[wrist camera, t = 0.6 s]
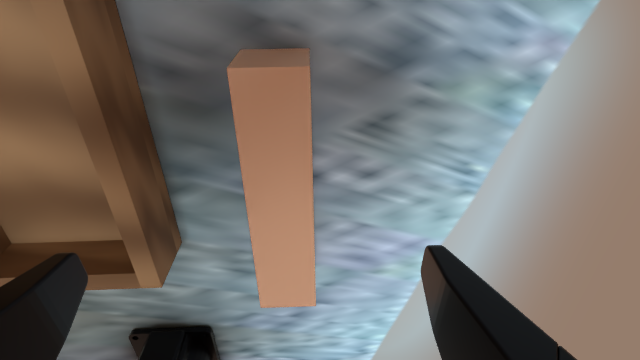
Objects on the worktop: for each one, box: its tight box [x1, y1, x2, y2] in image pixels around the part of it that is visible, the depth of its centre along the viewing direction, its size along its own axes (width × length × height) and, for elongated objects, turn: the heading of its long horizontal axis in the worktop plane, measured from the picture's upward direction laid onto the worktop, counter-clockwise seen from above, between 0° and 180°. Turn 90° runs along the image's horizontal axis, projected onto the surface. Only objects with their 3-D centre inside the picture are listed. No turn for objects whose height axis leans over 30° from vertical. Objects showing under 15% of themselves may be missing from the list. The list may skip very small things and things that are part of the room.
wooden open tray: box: [0, 0, 182, 290], centre depth 18 cm, size 20×11×4 cm, turn 1°
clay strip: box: [227, 48, 316, 308], centre depth 21 cm, size 15×4×4 cm, turn 1°
